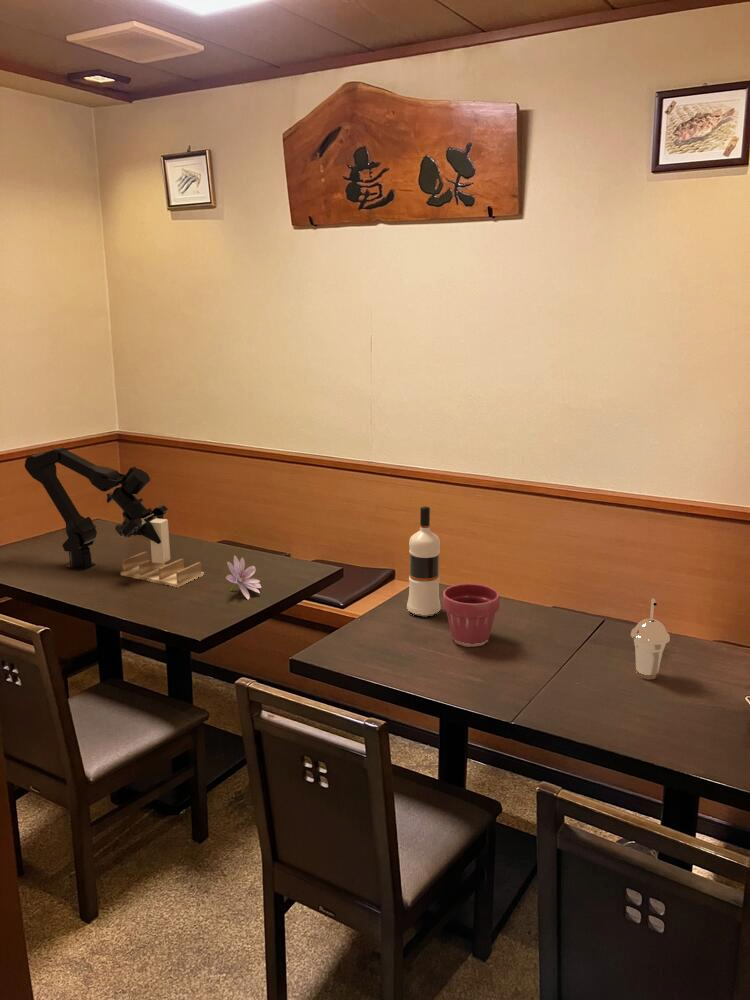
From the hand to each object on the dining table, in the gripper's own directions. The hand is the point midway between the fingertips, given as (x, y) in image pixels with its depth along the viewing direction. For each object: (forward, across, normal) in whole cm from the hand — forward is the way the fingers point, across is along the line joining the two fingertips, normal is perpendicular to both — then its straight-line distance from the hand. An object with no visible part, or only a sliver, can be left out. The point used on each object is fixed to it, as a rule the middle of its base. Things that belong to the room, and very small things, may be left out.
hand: (163, 541), depth 246 cm
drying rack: (+7, 0, -9) cm, 11 cm away
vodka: (+67, +6, +51) cm, 84 cm away
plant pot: (+78, +20, +62) cm, 101 cm away
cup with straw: (+107, +28, +92) cm, 144 cm away
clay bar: (+4, 0, -6) cm, 7 cm away
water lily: (+29, +7, +13) cm, 33 cm away
